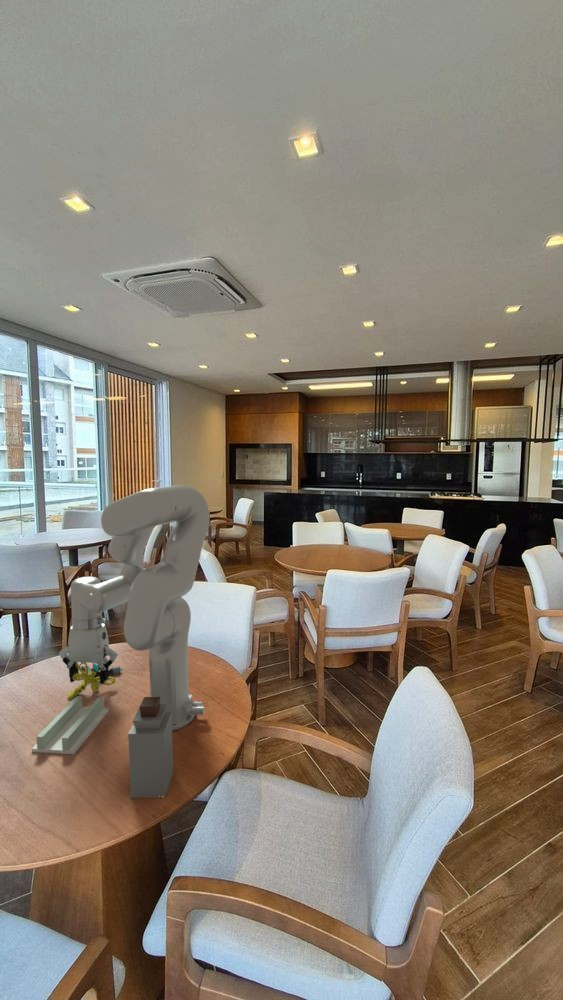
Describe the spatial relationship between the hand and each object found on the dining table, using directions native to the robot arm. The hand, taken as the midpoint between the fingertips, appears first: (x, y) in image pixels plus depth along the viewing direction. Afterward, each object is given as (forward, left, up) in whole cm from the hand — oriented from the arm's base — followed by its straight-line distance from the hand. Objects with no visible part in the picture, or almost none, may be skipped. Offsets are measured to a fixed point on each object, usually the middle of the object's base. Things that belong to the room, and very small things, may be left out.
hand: (89, 680), depth 118 cm
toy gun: (+2, -12, -4) cm, 13 cm away
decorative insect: (-1, 0, -4) cm, 4 cm away
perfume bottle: (-31, +31, -4) cm, 44 cm away
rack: (-5, +16, -4) cm, 17 cm away
